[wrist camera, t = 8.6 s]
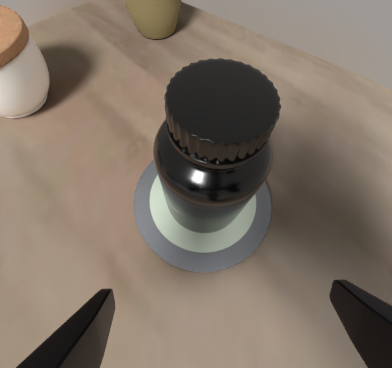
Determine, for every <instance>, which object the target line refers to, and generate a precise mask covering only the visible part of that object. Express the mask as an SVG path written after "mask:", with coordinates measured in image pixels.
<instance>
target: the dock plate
mask: <svg viewBox="0 0 392 368" xmlns="http://www.w3.org/2000/svg"><path fill="white" fill-rule="evenodd" d="M271 212H272V207H271V197H270V193H269V189H268V186H267V184H266V182H265V181H264V183H263V184H262V186H261V187H260V188H259V190H258V191H257V192H256V193H255V195H254V196H253V197H252V198H251V200H250V201H249V202H248V203H247V204H246V206H245V207H244V208H243V209H242V211H241V212H240V213H239V214H238V216H237V217H236V218H235V219H234V220H233V221H232V222H231V223H230V224H229V225H228V226H226V227H225V228H223V229H221V230H219V231H216V232H213V233H196V232H193V231H190V230H188V229H186V228H184V227H183V226H181V225H180V224H179V223H178V222H177V221H176V220H175V219H174V218H173V216H172V215H171V213H170V211H169V209H168V206H167V203H166V199H165V196H164V193H163V189H162V186H161V183H160V179H159V176H158V173H157V169H156V166H155V161H154V160H153V161H152V162H151V163H150V164H149V165H148V167H147V168H146V169H145V170H144V172H143V174H142V175H141V177H140V179H139V182H138V184H137V187H136V191H135V196H134V215H135V220H136V224H137V227H138V229H139V231H140V234H141V236H142V237H143V239H144V240H145V242H146V244H147V245H148V246H149V247H150V248H151V249H152V250H153V252H155V253H156V254H157V255H158V256H159V257H160V258H162V259H163V260H165V261H166V262H168V263H169V264H171V265H173V266H176V267H178V268H180V269H184V270H187V271H192V272H214V271H220V270H223V269H226V268H229V267H232V266H234V265H236V264H238V263H240V262H241V261H243V260H244V259H246V258H247V257H248V256H250V255H251V254H252V253H253V252H254V251H255V250H256V249H257V247H258V246H259V245H260V244H261V242H262V240H263V239H264V237H265V235H266V233H267V230H268V228H269V224H270V220H271Z"/></svg>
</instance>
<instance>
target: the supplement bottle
mask: <svg viewBox="0 0 392 368" xmlns="http://www.w3.org/2000/svg"><path fill="white" fill-rule="evenodd" d="M166 90H167V92H166V94H165V111H166V119H165V120H164V122H163V123H162V125H161V126H160V128H159V130H158V132H157V135H156V137H155V141H154V150H153V152H154V161H155V166H156V169H157V173H158V176H159V179H160V183H161V186H162V189H163V193H164V196H165V199H166V203H167V206H168V209H169V211H170V213H171V215H172V216H173V218H174V219H175V220H176V221H177V222H178V223H179V224H180V225H181V226H183V227H184V228H186V229H188V230H190V231H193V232H196V233H213V232H216V231H219V230H221V229H223V228H225V227H226V226H228V225H229V224H230V223H231V222H232V221H233V220H234V219H235V218H236V217H237V216H238V214H239V213H240V212H241V211H242V209H243V208H244V207H245V206H246V204H247V203H248V202H249V201H250V200H251V198H252V197H253V196H254V195H255V193H256V192H257V191H258V190H259V188H260V187H261V186H262V184H263V183H264V181H265V180H266V178H267V176H268V174H269V172H270V169H271V165H272V158H273V152H272V145H271V140H270V134H271V132H272V130H273V129H274V127H275V124H276V122H277V120H278V118H279V111H280V109H281V105H280V103H279V101H280V97H279V96H278V94H277V89H276V88H275V87H274V86H273V83H272V82H271V81H270V80H268V78H267V76H266V75H264V74H262V73H261V72H260V71H259V70H258V69H255V68H253V67H252V66H251V65H247V64H244V63H242V62H239V61H234V60H231V59H227V60H225V59H221V58H220V59H208V60H200V61H198V62H195V63H191V64H190V65H189V66H186V67H183V68H182V70H181V71H179V72H177V73H176V74H175V76H174V77H173V78H171V80H170V84H169V85H168V86H167V89H166Z"/></svg>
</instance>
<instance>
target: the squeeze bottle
mask: <svg viewBox="0 0 392 368" xmlns="http://www.w3.org/2000/svg"><path fill="white" fill-rule="evenodd" d="M125 4H126V8H127V10H128V11H129V13H130V15H131V17H132V19H133V21H134V23H135V25H136V27H137V29H138V31H139V32H140V33H141V34H142V35H143V36H145V37H147V38H152V39H162V38H165V37H168V36H170V35H171V34H173V33H174V31H175V28H176V24H177V20H178V15H179V11H180V7H181V0H125Z"/></svg>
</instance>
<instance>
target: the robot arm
mask: <svg viewBox="0 0 392 368" xmlns="http://www.w3.org/2000/svg"><path fill="white" fill-rule="evenodd" d="M330 300H331V303H332V305H333V306H334V308H335V310H336V312H337V314H338V316H339V318H340V320H341V322H342V324H343V326H344V328H345V330H346V331H347V333H348V335H349V337H350V339H351V341H352V343H353V344H354V346H355V348H356V349H357V351H358V353H359V354H360V356H361V357H362V359H363V361H364V362H365V364H366V365H367V367H368V368H392V306H391V305H389V304H387V303H385V302H384V301H382V300H380V299H378V298H377V297H375V296H373V295H371V294H370V293H368V292H366V291H364V290H363V289H361V288H359V287H357V286H355V285H354V284H352V283H350V282H348V281H347V280H334V281H333V284H332V288H331V292H330ZM114 311H115V300H114V295H113V290H112V289H101V290H100V291H98V292H97V293H96V294H95V295H94V296H93V297H92V298H91V299H90V300H89V301H88V302H86V303H85V304H84V305H83V306H82V307H81V308H80V309H79V310H78V311H77V312H76V313H75V314H73V315H72V316H71V317H70V318H69V319H68V320H67V321H66V322H65V323H64V324H63V325H62V326H60V327H59V328H58V329H57V330H56V331H55V332H54V333H53V334H52V335H51V336H50V337H49V338H47V339H46V340H45V341H44V342H43V343H42V344H41V345H40V346H39V347H38V348H37V349H36V350H34V351H33V352H32V353H31V354H30V355H29V356H28V357H27V358H26V359H25V360H24V361H23V362H21V363H20V364H19V365H18V366H17V367H16V368H100V365H101V362H102V359H103V356H104V352H105V348H106V344H107V340H108V336H109V332H110V328H111V324H112V320H113V316H114Z"/></svg>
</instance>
